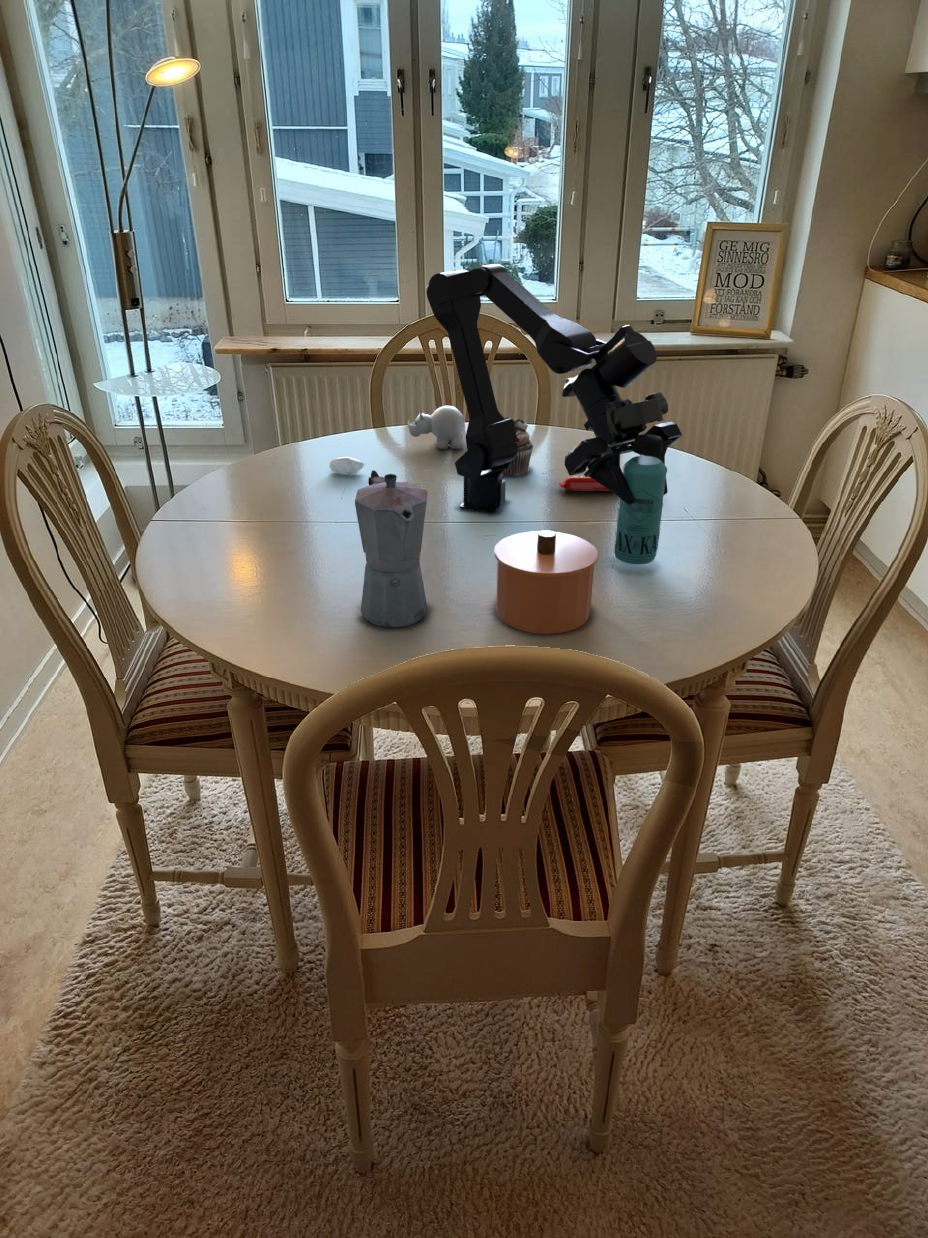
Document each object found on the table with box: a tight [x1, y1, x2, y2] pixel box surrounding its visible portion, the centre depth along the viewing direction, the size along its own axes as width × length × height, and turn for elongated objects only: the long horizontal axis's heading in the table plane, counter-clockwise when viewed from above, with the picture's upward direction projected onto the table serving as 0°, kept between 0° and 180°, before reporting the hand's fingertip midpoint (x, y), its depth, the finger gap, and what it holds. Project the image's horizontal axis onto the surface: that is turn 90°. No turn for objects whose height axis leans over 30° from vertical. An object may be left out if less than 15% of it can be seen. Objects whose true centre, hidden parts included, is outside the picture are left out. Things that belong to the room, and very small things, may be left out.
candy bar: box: [558, 475, 611, 492], centre depth 158 cm, size 16×4×3 cm, turn 92°
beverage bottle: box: [613, 433, 668, 565], centre depth 126 cm, size 6×7×20 cm
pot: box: [495, 560, 595, 635], centre depth 115 cm, size 13×13×8 cm
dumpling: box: [328, 456, 365, 477], centre depth 166 cm, size 7×5×4 cm
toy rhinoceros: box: [407, 405, 466, 450], centre depth 180 cm, size 7×12×8 cm, turn 89°
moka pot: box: [354, 469, 428, 628], centre depth 112 cm, size 10×15×20 cm, turn 27°
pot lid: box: [494, 529, 599, 577], centre depth 113 cm, size 14×14×4 cm
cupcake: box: [503, 416, 534, 477], centre depth 167 cm, size 10×10×10 cm
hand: (648, 498), depth 124 cm, fingers closed on beverage bottle, 6 cm apart
